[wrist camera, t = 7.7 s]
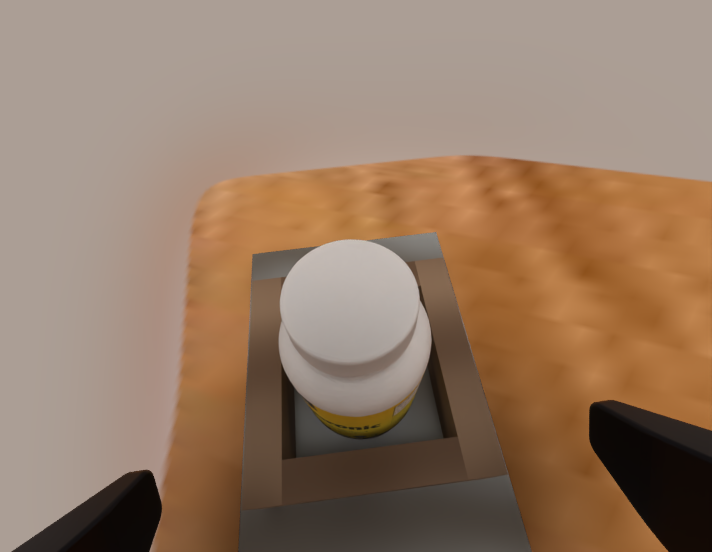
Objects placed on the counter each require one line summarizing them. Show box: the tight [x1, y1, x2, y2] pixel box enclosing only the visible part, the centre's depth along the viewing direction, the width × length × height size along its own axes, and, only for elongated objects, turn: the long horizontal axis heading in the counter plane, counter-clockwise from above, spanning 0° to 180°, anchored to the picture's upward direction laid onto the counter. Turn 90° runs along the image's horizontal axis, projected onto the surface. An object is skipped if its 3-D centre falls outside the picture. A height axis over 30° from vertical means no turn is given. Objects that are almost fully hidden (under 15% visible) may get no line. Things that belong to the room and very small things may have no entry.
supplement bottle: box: [279, 240, 432, 440], centre depth 14 cm, size 5×5×10 cm
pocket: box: [238, 232, 532, 552], centre depth 18 cm, size 18×12×4 cm, turn 7°
